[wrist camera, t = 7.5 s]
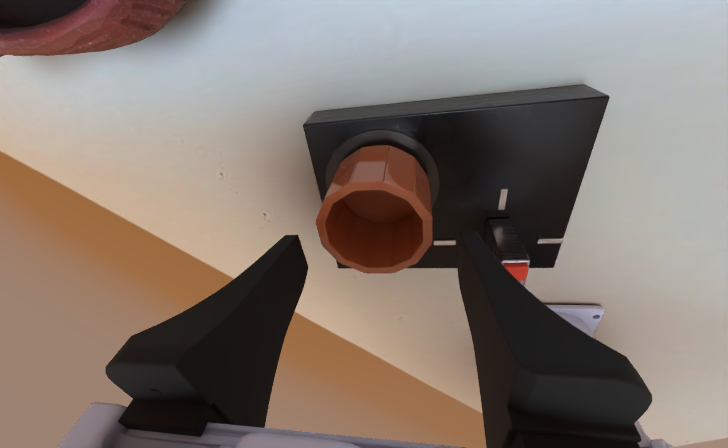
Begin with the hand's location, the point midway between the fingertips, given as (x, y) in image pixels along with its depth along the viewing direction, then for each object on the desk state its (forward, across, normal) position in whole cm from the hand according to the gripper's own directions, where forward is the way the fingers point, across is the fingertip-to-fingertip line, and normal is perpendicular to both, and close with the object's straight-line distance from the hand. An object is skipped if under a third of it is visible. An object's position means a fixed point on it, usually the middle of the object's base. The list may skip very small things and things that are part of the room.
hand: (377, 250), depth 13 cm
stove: (+8, -3, +1) cm, 9 cm away
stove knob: (+6, -7, +4) cm, 10 cm away
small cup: (+6, 0, 0) cm, 6 cm away
